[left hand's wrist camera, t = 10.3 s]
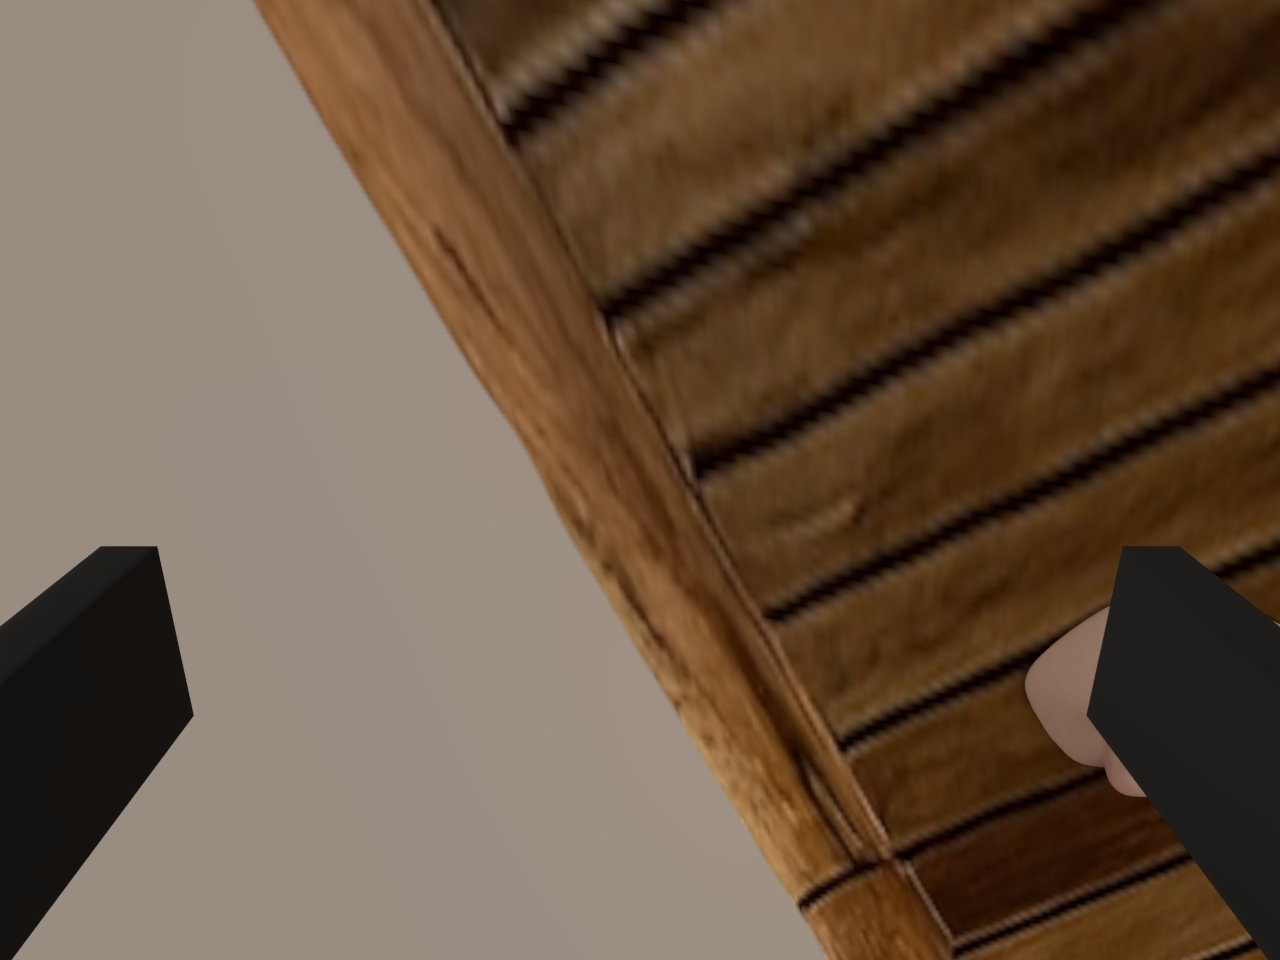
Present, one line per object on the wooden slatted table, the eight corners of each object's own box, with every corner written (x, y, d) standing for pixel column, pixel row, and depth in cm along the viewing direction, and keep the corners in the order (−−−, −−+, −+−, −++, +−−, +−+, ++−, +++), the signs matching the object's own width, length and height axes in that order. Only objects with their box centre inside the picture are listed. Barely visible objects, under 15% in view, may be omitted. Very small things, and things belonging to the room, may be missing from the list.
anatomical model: (1017, 763, 44) (1183, 578, 40) (988, 713, 47) (1137, 539, 44) (1225, 871, 46) (1399, 705, 42) (1181, 815, 50) (1339, 658, 46)
